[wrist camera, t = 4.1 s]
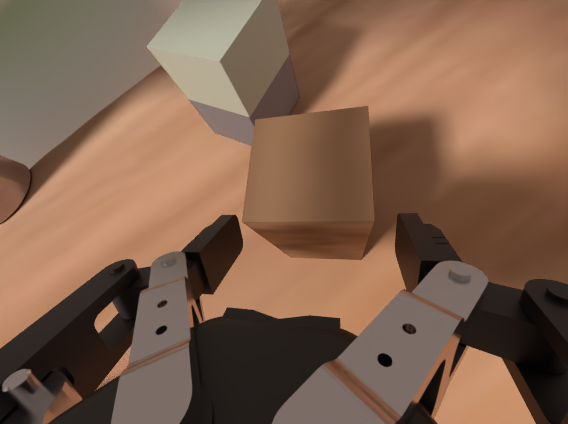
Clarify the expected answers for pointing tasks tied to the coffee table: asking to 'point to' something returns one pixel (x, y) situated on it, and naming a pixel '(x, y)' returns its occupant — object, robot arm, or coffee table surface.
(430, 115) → the coffee table surface
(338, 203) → the walnut block
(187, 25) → the tower top
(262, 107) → the tower base
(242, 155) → the coffee table surface
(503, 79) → the coffee table surface
